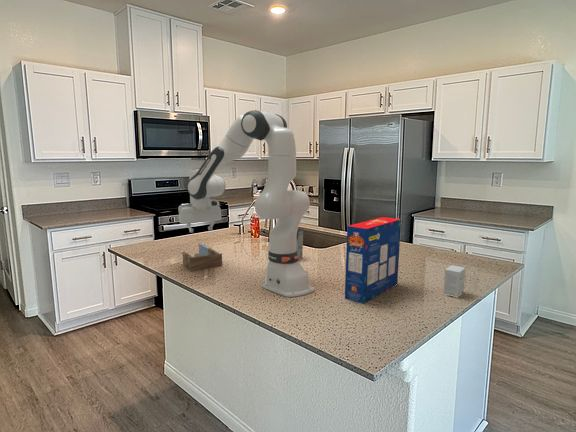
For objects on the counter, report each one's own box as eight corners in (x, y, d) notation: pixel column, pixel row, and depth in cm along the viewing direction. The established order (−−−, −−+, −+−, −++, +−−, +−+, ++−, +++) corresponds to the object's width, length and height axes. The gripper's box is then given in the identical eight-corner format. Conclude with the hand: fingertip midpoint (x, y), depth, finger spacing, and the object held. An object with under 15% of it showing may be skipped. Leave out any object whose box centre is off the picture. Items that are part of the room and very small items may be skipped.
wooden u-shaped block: (222, 266, 184) (221, 253, 183) (190, 271, 176) (190, 258, 175) (211, 259, 195) (211, 248, 194) (181, 264, 187) (181, 252, 186)
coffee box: (281, 259, 198) (281, 228, 195) (287, 256, 203) (287, 226, 201) (297, 261, 193) (298, 230, 191) (303, 258, 199) (303, 228, 196)
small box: (449, 289, 155) (451, 264, 153) (463, 292, 152) (465, 267, 150) (442, 295, 149) (444, 269, 147) (457, 298, 145) (460, 272, 144)
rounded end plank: (209, 259, 195) (208, 248, 194) (198, 252, 207) (198, 242, 206) (211, 259, 196) (211, 248, 195) (201, 252, 208) (201, 242, 207)
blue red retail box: (379, 280, 166) (383, 216, 161) (397, 284, 160) (401, 219, 156) (344, 298, 145) (347, 225, 140) (363, 304, 140) (366, 228, 135)
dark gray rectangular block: (209, 267, 183) (208, 257, 182) (201, 268, 181) (200, 258, 180) (202, 262, 191) (202, 252, 190) (194, 263, 188) (194, 253, 188)
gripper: (180, 204, 173) (181, 234, 175) (222, 201, 184) (223, 230, 186) (175, 203, 178) (177, 232, 180) (217, 200, 189) (218, 228, 191)
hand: (201, 231), depth 183 cm, fingers open, 8 cm apart
